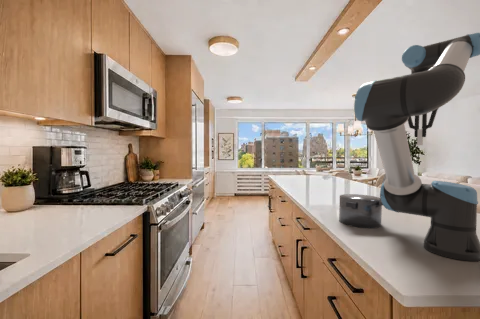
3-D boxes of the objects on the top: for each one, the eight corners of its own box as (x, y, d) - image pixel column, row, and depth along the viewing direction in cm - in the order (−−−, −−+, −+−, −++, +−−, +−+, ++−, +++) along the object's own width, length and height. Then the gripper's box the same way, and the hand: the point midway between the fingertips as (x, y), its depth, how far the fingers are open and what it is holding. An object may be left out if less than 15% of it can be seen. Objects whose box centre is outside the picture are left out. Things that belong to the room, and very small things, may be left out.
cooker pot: (377, 233, 100) (378, 204, 100) (330, 223, 114) (330, 197, 114) (391, 222, 117) (392, 197, 117) (349, 214, 131) (350, 192, 131)
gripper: (442, 87, 100) (440, 145, 101) (405, 92, 109) (403, 145, 110) (440, 83, 94) (438, 144, 95) (401, 89, 104) (399, 145, 104)
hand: (419, 145), depth 102 cm, fingers closed
